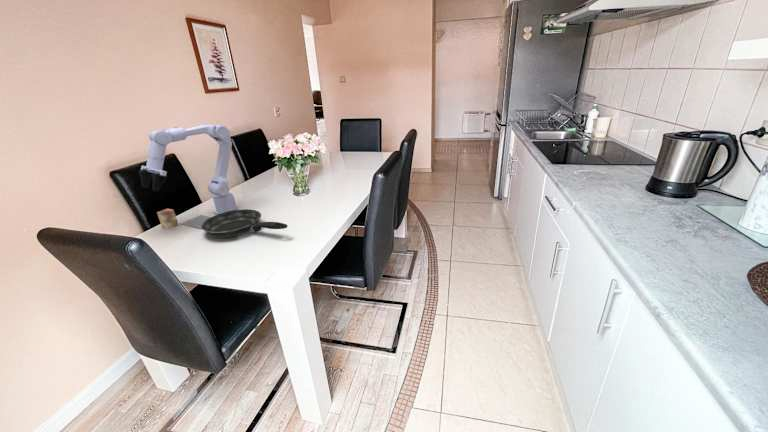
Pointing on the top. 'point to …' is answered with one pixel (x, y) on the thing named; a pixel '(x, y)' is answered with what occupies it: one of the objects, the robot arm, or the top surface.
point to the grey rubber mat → (195, 221)
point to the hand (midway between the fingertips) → (150, 189)
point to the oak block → (167, 218)
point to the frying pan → (237, 223)
